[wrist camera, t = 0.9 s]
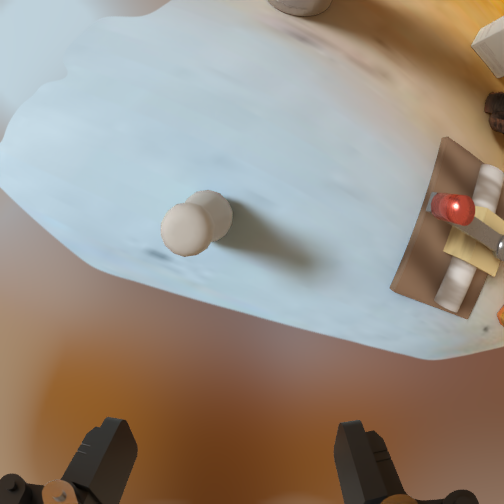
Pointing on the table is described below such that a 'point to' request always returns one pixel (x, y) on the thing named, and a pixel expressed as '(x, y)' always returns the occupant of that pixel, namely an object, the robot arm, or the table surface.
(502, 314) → the supplement box
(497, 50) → the supplement box
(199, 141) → the table surface
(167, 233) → the salt shaker
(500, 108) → the pottery mug
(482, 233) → the valve lever
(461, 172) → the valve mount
